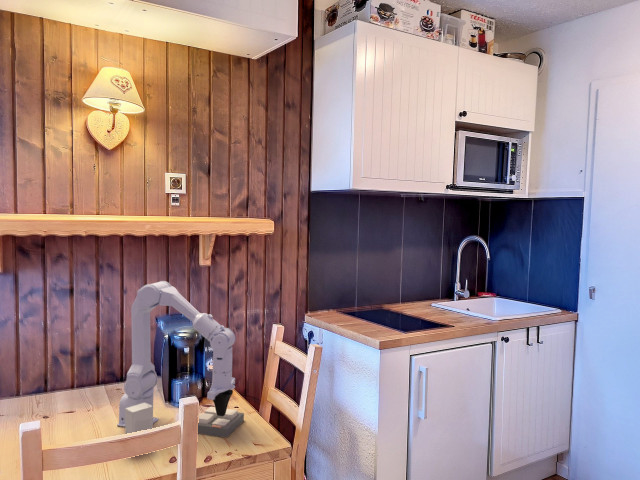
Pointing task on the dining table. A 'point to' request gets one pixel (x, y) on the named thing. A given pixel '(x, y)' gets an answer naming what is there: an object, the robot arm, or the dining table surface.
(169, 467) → the dining table surface
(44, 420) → the dining table surface
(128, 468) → the dining table surface
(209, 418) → the key
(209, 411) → the key
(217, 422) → the key
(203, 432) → the console
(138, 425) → the skincare box
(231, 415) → the key
